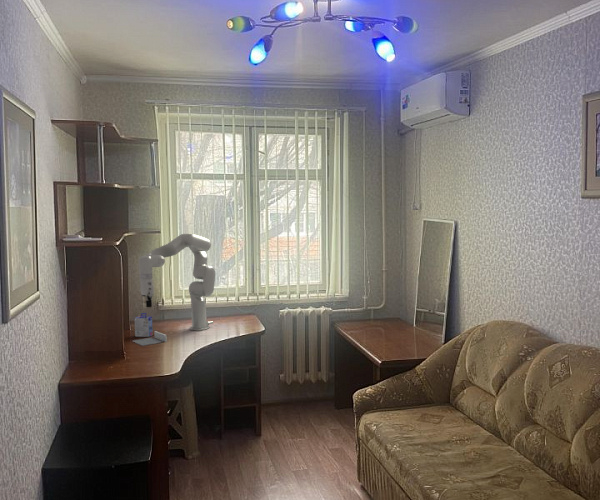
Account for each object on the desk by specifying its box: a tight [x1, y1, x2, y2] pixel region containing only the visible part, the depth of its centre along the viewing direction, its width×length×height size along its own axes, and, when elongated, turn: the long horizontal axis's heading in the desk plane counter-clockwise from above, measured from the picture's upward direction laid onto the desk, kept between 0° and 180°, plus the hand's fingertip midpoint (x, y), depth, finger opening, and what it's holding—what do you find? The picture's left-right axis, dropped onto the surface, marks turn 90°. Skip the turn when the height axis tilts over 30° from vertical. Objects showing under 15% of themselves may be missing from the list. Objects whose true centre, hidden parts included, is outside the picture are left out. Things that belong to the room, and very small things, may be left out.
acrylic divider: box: [153, 330, 168, 343], centre depth 363 cm, size 1×16×4 cm, turn 37°
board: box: [131, 336, 163, 347], centre depth 359 cm, size 13×16×1 cm
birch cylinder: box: [142, 296, 153, 309], centre depth 357 cm, size 5×5×7 cm
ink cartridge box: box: [134, 312, 154, 338], centre depth 374 cm, size 10×6×14 cm, turn 78°
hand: (147, 306), depth 357 cm, fingers closed on birch cylinder, 5 cm apart
